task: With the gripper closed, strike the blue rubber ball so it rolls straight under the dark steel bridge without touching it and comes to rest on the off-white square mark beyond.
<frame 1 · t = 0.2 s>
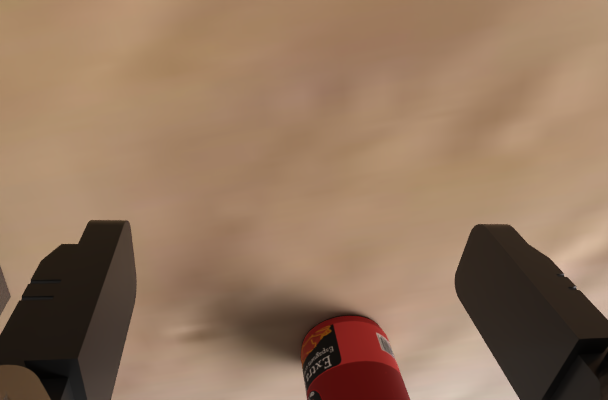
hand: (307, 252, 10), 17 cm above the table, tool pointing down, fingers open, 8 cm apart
canned food: (342, 340, 40), on the table
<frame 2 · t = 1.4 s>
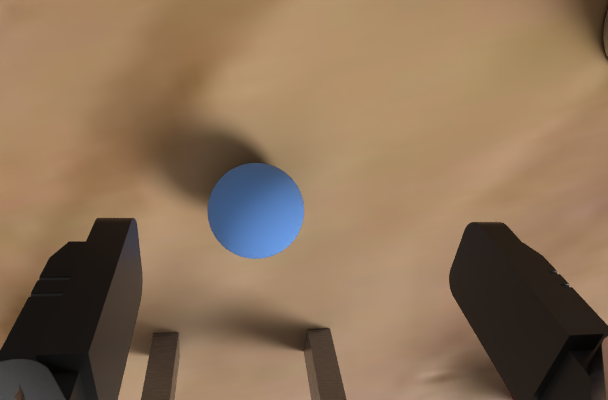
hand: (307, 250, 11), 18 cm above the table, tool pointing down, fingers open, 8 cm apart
ball: (256, 210, 28), on the table
bridge: (243, 342, 39), on the table
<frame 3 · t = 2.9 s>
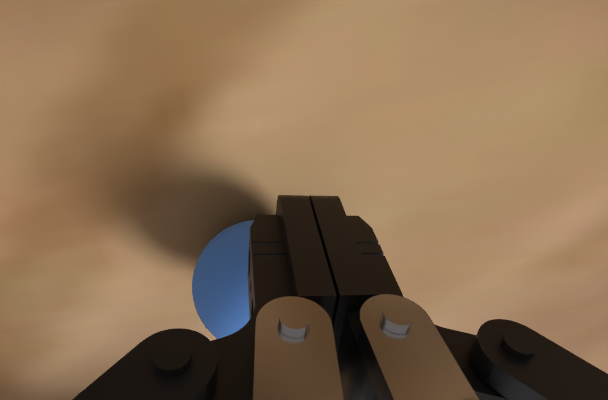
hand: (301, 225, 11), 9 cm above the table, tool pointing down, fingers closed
ball: (258, 283, 21), on the table
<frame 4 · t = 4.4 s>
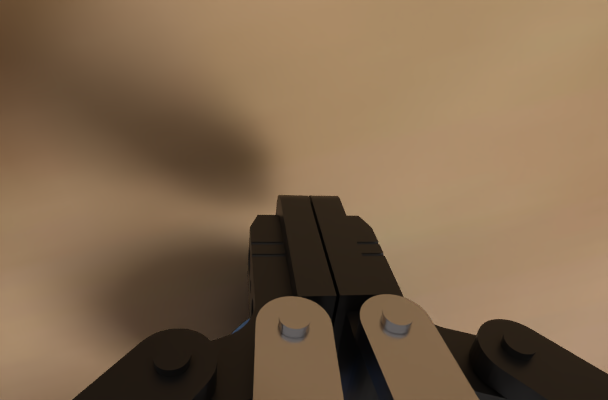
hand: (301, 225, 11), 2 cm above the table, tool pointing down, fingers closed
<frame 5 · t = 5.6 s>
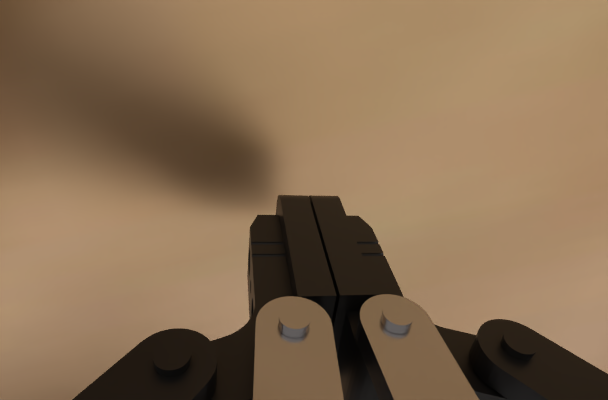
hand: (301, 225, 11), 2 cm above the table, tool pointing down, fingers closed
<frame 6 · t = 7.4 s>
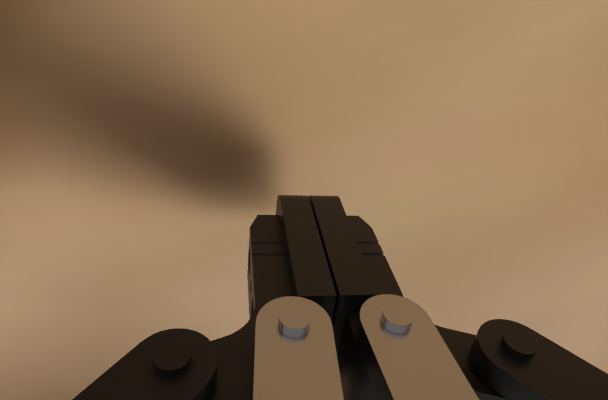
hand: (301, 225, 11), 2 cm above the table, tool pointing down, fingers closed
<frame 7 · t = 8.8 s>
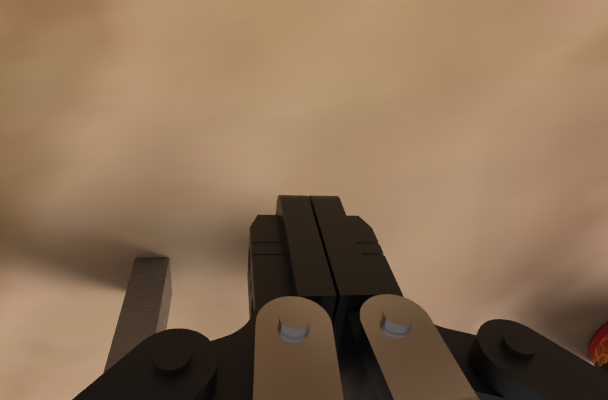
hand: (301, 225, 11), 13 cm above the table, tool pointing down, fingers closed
bridge: (256, 274, 29), on the table
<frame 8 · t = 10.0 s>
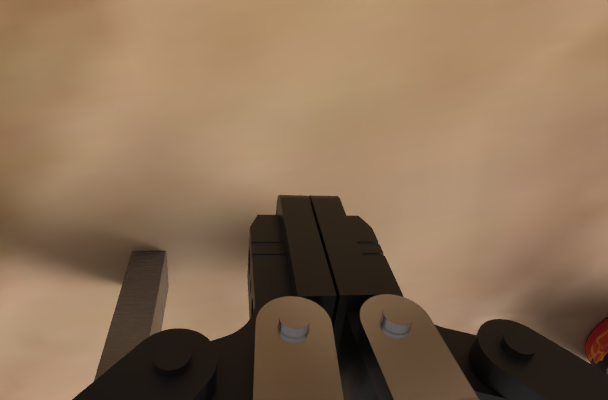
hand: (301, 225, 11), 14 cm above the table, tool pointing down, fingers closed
bridge: (253, 269, 29), on the table
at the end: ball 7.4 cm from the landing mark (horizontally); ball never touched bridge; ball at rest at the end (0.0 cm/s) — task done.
